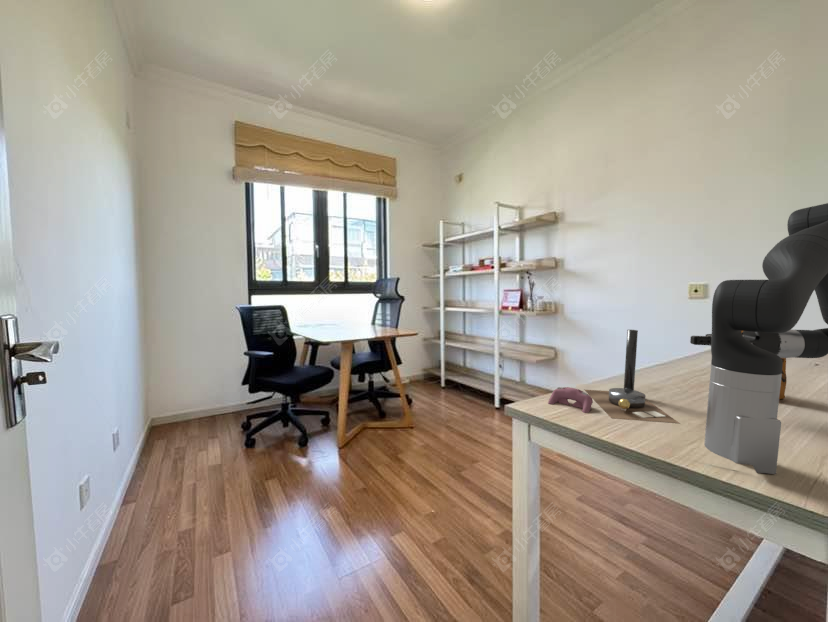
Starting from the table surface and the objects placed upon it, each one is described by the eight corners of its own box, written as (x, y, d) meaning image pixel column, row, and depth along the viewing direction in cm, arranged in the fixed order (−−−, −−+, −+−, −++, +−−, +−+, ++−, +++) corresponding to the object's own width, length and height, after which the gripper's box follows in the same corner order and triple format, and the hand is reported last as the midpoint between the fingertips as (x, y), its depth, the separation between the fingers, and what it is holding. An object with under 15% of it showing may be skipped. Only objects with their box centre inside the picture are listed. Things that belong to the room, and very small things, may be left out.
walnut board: (679, 429, 76) (680, 422, 76) (611, 424, 79) (611, 417, 79) (636, 397, 97) (636, 391, 97) (583, 394, 100) (583, 388, 100)
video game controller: (591, 421, 84) (596, 394, 86) (586, 418, 81) (591, 389, 83) (550, 411, 91) (556, 385, 93) (545, 407, 88) (550, 381, 90)
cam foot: (643, 417, 79) (648, 340, 77) (604, 409, 83) (608, 336, 82) (645, 395, 94) (650, 331, 92) (612, 390, 98) (616, 328, 97)
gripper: (752, 324, 93) (679, 323, 97) (794, 332, 80) (708, 329, 84) (750, 351, 94) (677, 349, 98) (791, 363, 81) (705, 359, 85)
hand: (692, 340), depth 91 cm, fingers closed
